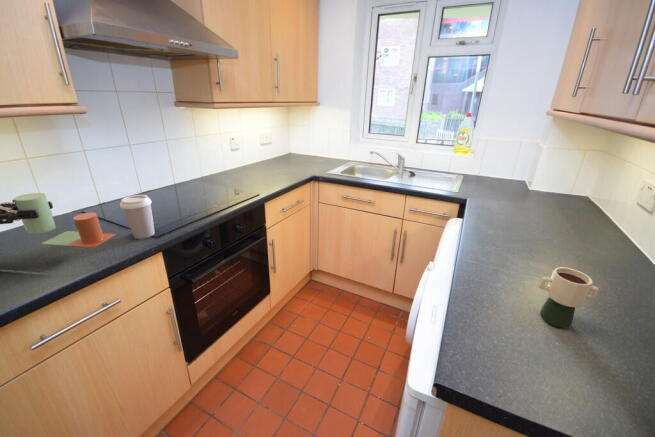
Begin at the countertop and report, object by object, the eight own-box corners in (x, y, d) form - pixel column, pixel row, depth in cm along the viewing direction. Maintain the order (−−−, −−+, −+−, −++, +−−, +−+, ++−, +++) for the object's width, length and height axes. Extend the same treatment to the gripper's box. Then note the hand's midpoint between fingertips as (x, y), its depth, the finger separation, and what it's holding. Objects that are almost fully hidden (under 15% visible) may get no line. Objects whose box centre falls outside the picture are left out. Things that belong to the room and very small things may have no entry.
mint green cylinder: (43, 234, 83) (31, 200, 79) (19, 233, 83) (6, 199, 79) (61, 225, 89) (51, 193, 85) (39, 224, 89) (28, 192, 85)
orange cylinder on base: (94, 244, 101) (85, 220, 97) (76, 243, 102) (67, 219, 98) (108, 235, 107) (101, 213, 103) (92, 234, 107) (84, 212, 104)
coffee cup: (165, 233, 111) (156, 195, 105) (143, 245, 103) (132, 204, 97) (146, 229, 114) (137, 192, 108) (123, 240, 106) (111, 200, 100)
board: (95, 249, 100) (94, 247, 99) (41, 246, 101) (40, 243, 101) (117, 236, 109) (116, 234, 108) (67, 233, 110) (66, 230, 110)
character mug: (576, 316, 73) (596, 272, 68) (587, 337, 67) (610, 290, 62) (525, 305, 77) (540, 262, 72) (531, 323, 71) (548, 278, 66)
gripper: (-61, 209, 72) (24, 205, 76) (-17, 191, 84) (54, 189, 89) (-47, 237, 75) (34, 232, 79) (-6, 215, 87) (62, 212, 92)
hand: (44, 209), depth 84 cm, fingers closed on mint green cylinder, 6 cm apart
